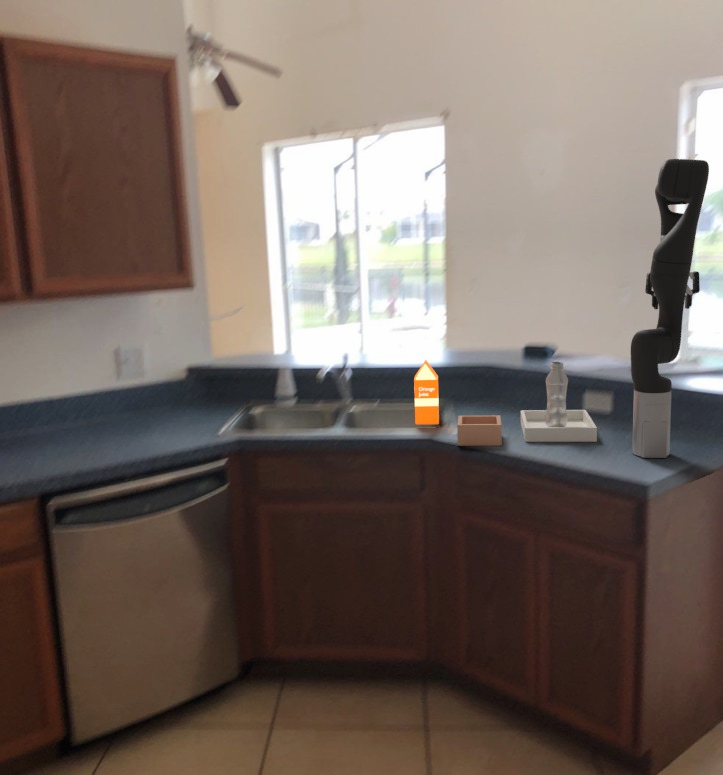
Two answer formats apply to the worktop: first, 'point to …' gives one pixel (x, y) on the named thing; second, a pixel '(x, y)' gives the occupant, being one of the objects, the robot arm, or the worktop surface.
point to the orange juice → (426, 395)
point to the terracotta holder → (479, 430)
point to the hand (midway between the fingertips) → (671, 308)
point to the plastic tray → (574, 431)
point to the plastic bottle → (556, 396)
